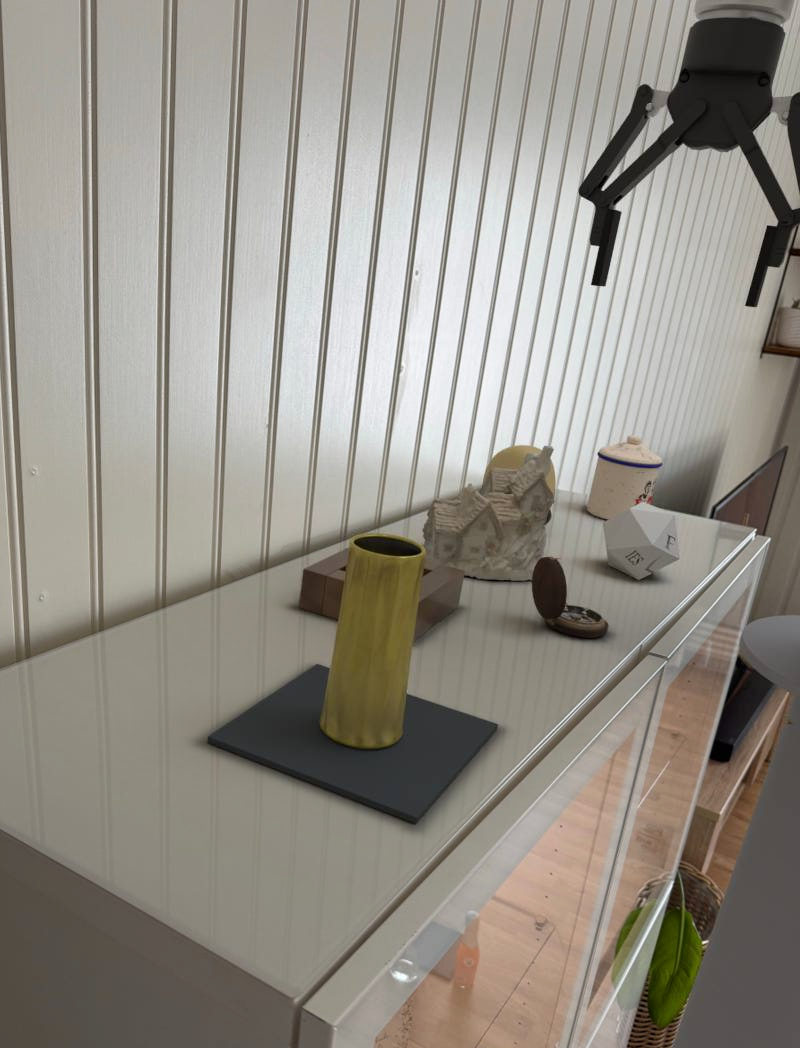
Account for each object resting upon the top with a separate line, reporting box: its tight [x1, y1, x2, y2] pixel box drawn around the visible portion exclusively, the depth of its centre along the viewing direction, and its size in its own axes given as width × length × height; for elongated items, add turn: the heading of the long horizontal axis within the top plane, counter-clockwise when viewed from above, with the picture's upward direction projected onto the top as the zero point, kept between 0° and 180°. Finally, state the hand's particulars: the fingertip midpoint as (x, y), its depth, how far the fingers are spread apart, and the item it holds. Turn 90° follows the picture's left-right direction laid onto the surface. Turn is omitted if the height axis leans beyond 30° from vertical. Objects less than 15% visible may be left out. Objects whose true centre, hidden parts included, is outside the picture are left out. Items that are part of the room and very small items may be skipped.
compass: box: [531, 556, 609, 639], centre depth 96 cm, size 8×8×7 cm
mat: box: [206, 663, 499, 825], centre depth 71 cm, size 16×16×1 cm
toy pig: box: [482, 444, 556, 527], centre depth 129 cm, size 10×12×11 cm
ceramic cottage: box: [421, 445, 556, 582], centre depth 111 cm, size 16×16×15 cm
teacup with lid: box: [586, 434, 663, 521], centre depth 140 cm, size 12×9×12 cm
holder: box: [298, 546, 465, 642], centre depth 95 cm, size 12×12×4 cm
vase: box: [319, 532, 426, 749], centre depth 68 cm, size 6×6×14 cm
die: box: [602, 502, 681, 581], centre depth 115 cm, size 8×9×10 cm
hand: (672, 296), depth 87 cm, fingers open, 13 cm apart
